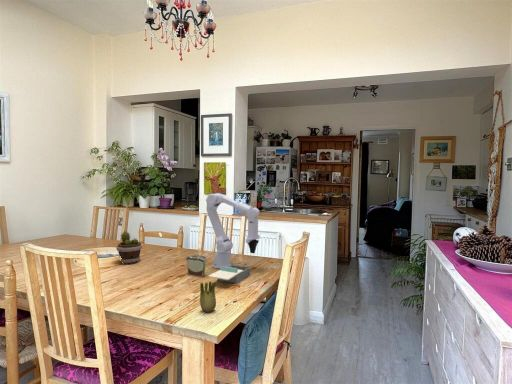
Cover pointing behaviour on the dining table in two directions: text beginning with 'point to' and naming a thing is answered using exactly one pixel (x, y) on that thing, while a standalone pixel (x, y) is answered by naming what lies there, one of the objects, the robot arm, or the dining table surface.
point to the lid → (226, 273)
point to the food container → (196, 265)
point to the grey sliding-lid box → (240, 276)
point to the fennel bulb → (207, 297)
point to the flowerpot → (129, 249)
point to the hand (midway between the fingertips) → (252, 253)
